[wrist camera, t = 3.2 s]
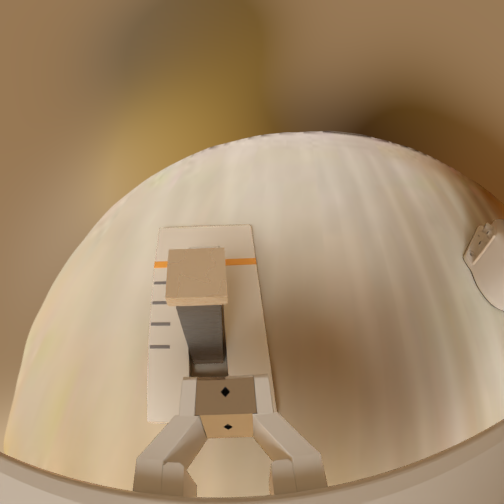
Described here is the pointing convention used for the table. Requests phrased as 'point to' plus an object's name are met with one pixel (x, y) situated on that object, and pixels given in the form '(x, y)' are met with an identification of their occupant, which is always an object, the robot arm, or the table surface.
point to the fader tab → (199, 299)
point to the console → (235, 317)
